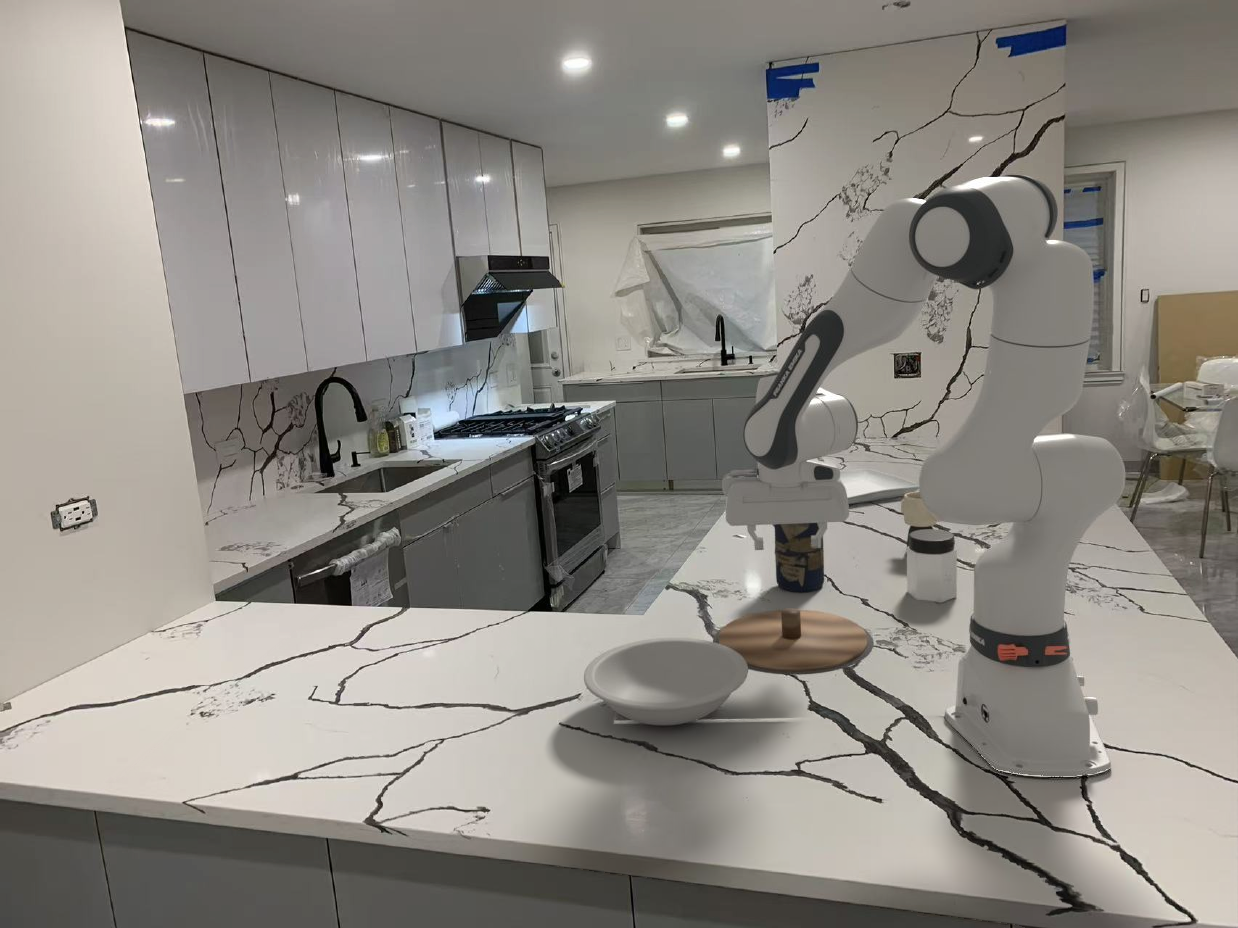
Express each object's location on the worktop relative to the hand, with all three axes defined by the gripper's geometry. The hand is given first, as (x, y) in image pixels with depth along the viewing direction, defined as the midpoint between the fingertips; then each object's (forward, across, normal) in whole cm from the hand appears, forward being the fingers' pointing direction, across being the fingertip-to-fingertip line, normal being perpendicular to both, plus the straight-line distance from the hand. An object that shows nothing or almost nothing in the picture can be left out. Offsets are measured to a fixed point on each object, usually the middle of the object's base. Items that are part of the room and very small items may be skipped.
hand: (787, 548), depth 149 cm
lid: (+16, 0, 0) cm, 16 cm away
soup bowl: (+17, -20, -24) cm, 36 cm away
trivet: (+17, 0, 0) cm, 17 cm away
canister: (+17, +4, +28) cm, 33 cm away
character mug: (+18, +32, +48) cm, 60 cm away
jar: (+17, +28, +20) cm, 39 cm away
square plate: (+19, +26, +106) cm, 110 cm away
